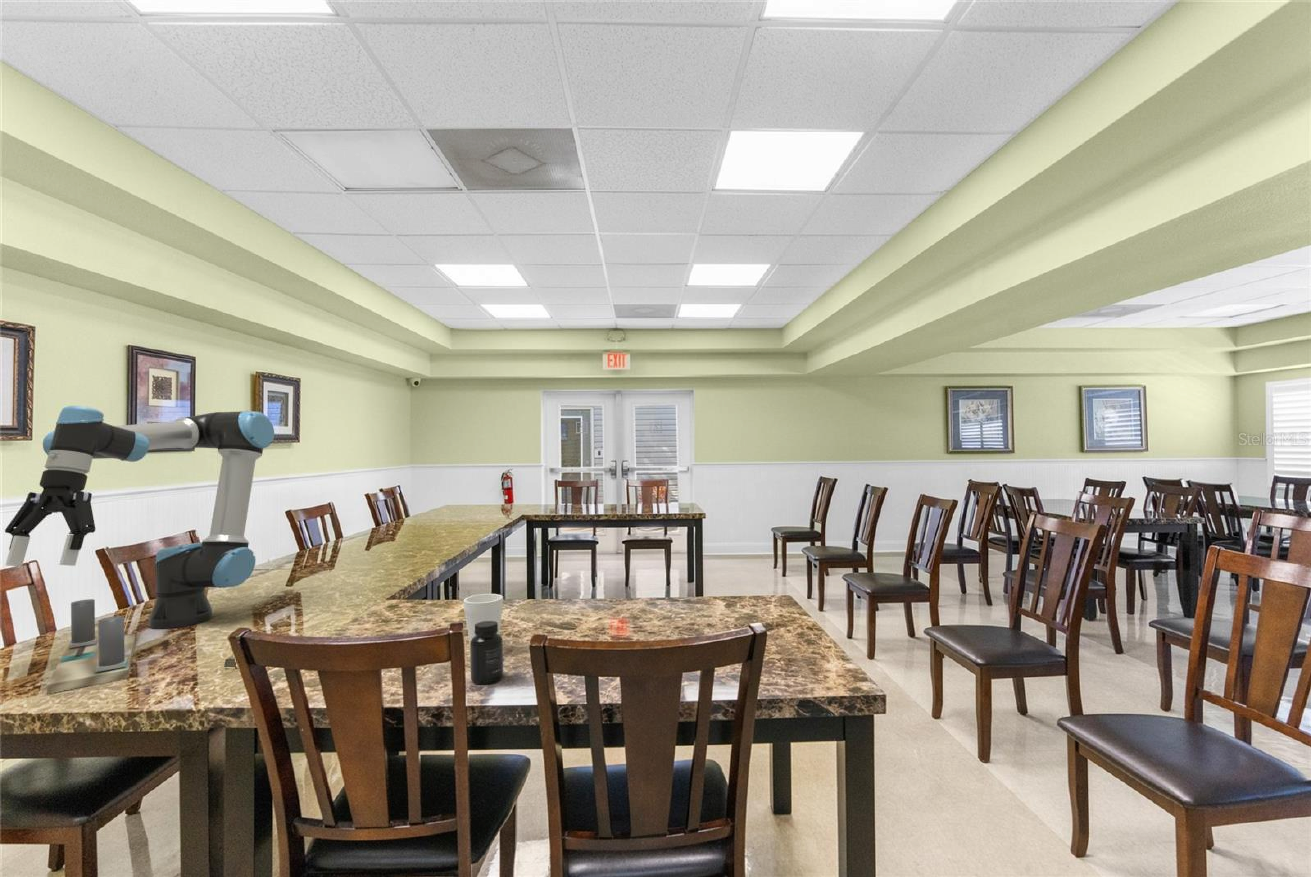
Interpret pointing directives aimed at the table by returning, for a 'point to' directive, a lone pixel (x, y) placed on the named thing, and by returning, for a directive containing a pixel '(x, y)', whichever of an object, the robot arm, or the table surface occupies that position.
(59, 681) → the switch bank
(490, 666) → the supplement bottle
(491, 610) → the foam cup
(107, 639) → the grey tall block
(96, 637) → the grey upright block
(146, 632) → the table surface
